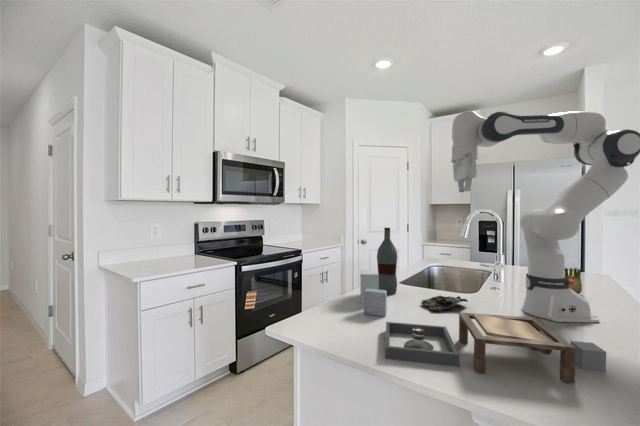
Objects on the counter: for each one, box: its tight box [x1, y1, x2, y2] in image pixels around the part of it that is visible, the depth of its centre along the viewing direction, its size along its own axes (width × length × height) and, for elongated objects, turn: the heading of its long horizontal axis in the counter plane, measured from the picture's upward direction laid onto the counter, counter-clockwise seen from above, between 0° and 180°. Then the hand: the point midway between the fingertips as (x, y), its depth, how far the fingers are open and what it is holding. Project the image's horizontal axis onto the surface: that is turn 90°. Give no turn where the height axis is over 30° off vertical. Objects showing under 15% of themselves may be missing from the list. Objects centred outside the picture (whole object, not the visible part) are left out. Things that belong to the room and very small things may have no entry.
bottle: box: [376, 227, 398, 296], centre depth 141 cm, size 9×9×30 cm
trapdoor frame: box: [458, 312, 576, 384], centre depth 80 cm, size 21×18×8 cm
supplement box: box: [359, 270, 379, 305], centre depth 127 cm, size 7×7×13 cm
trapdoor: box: [473, 313, 553, 355], centre depth 80 cm, size 15×13×3 cm
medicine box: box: [363, 289, 388, 317], centre depth 113 cm, size 8×4×9 cm, turn 71°
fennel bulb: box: [564, 267, 583, 295], centre depth 139 cm, size 6×5×12 cm
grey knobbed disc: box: [404, 327, 434, 350], centre depth 87 cm, size 12×12×5 cm
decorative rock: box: [421, 294, 469, 312], centre depth 122 cm, size 19×6×15 cm
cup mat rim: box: [385, 321, 460, 367], centre depth 87 cm, size 18×18×3 cm
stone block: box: [570, 340, 607, 373], centre depth 77 cm, size 5×5×5 cm
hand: (464, 191), depth 117 cm, fingers open, 8 cm apart
